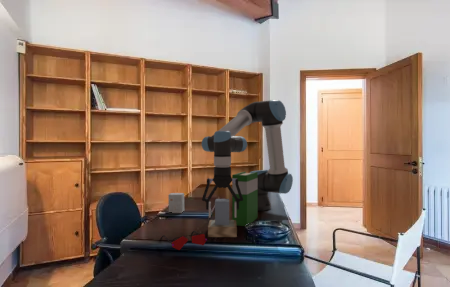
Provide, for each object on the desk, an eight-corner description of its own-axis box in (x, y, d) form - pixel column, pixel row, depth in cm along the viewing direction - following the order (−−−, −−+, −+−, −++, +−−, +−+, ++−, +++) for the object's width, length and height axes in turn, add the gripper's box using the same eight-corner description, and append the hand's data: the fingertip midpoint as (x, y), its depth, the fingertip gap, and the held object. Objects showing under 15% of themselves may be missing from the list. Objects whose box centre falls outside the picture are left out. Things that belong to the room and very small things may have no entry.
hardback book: (244, 216, 158) (244, 171, 158) (257, 217, 155) (257, 172, 155) (232, 224, 141) (232, 174, 142) (247, 226, 139) (246, 175, 139)
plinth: (236, 228, 135) (236, 219, 135) (236, 237, 123) (236, 226, 123) (209, 228, 135) (209, 219, 135) (208, 237, 123) (207, 226, 123)
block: (229, 221, 132) (229, 198, 132) (229, 224, 126) (229, 201, 126) (215, 221, 132) (215, 198, 132) (215, 224, 126) (215, 201, 126)
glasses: (172, 252, 106) (172, 238, 106) (160, 239, 121) (160, 227, 121) (207, 246, 113) (207, 233, 113) (192, 234, 127) (192, 223, 127)
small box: (184, 211, 171) (184, 192, 171) (182, 213, 165) (182, 194, 165) (171, 210, 171) (171, 192, 171) (168, 213, 166) (168, 194, 166)
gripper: (248, 165, 133) (248, 214, 133) (197, 165, 133) (197, 214, 133) (249, 167, 125) (249, 219, 125) (195, 167, 125) (195, 219, 125)
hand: (222, 216), depth 129 cm, fingers open, 10 cm apart
